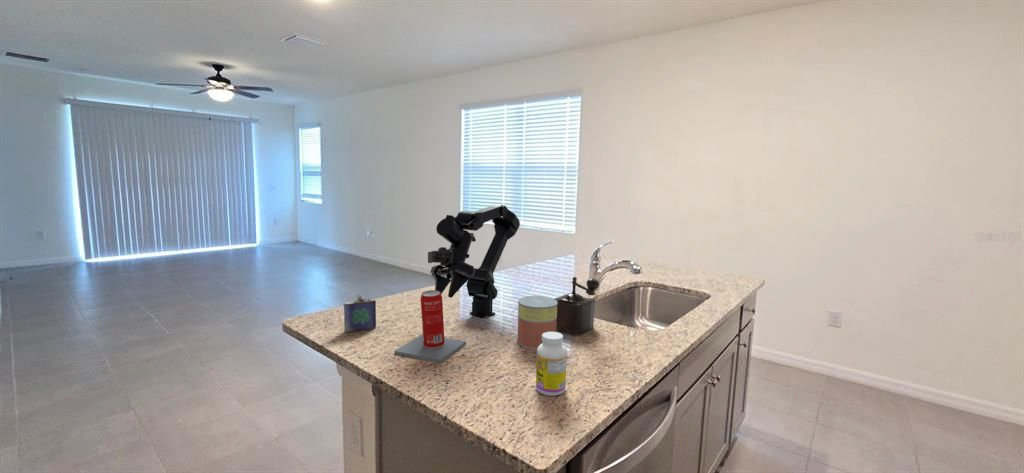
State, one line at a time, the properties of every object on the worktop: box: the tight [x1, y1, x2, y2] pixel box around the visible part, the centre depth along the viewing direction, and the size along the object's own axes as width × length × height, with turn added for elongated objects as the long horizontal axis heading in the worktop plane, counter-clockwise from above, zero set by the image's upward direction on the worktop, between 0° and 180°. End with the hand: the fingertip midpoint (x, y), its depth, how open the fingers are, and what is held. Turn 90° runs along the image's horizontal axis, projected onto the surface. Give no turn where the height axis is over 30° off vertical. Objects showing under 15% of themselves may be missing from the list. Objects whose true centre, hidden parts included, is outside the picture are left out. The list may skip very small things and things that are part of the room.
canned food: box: [516, 295, 558, 350], centre depth 128 cm, size 11×11×12 cm
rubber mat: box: [394, 333, 467, 364], centre depth 122 cm, size 14×14×1 cm
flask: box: [343, 294, 377, 334], centre depth 134 cm, size 9×3×11 cm, turn 121°
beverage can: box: [420, 289, 445, 349], centre depth 121 cm, size 6×6×15 cm
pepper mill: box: [554, 276, 600, 336], centre depth 138 cm, size 16×11×18 cm
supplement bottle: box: [535, 331, 568, 397], centre depth 99 cm, size 7×7×13 cm
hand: (442, 297), depth 132 cm, fingers open, 9 cm apart
